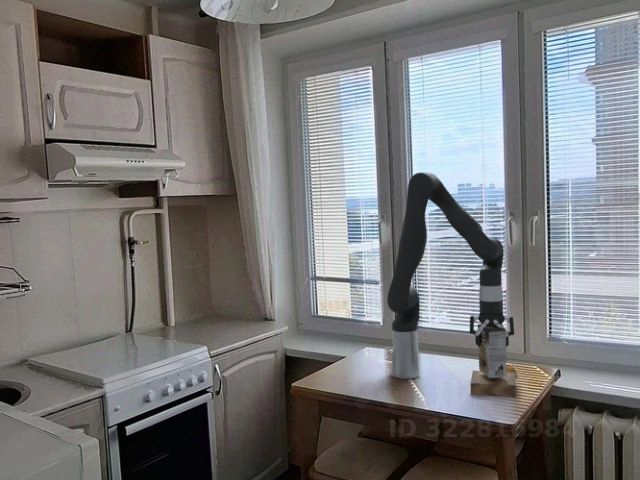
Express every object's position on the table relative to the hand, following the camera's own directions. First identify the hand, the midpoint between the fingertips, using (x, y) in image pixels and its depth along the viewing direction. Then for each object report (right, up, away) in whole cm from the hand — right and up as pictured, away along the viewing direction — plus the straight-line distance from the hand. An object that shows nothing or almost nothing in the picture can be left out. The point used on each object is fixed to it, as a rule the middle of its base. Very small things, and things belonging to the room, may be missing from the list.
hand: (492, 346), depth 186 cm
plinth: (+1, -14, +1) cm, 14 cm away
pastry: (+9, -14, +14) cm, 22 cm away
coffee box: (0, -9, +1) cm, 9 cm away
